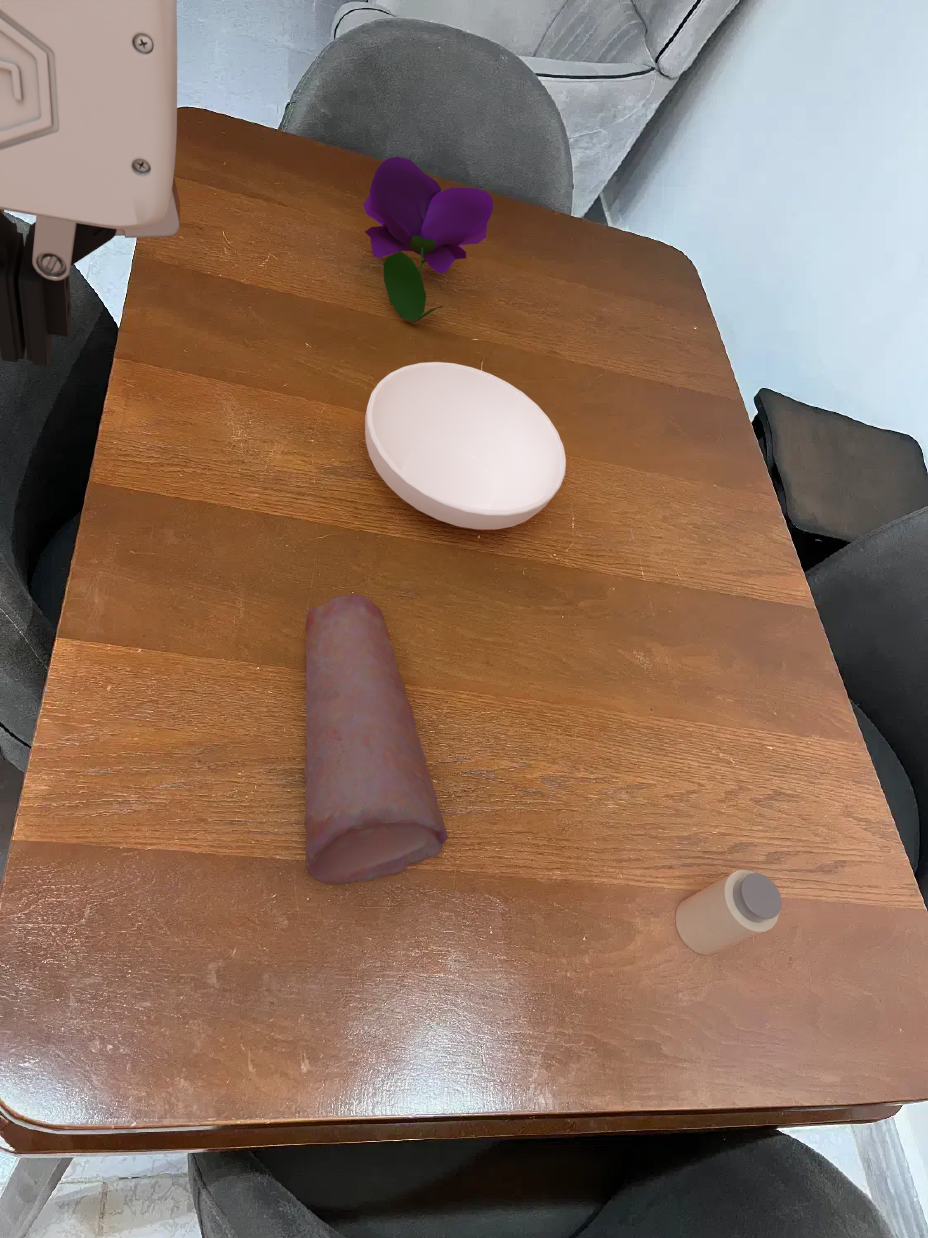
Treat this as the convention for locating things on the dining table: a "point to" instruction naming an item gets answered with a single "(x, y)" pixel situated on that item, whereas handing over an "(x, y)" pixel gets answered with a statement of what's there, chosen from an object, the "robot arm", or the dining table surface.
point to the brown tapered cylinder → (362, 752)
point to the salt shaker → (728, 912)
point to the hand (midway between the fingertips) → (29, 339)
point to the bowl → (463, 445)
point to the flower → (420, 228)
